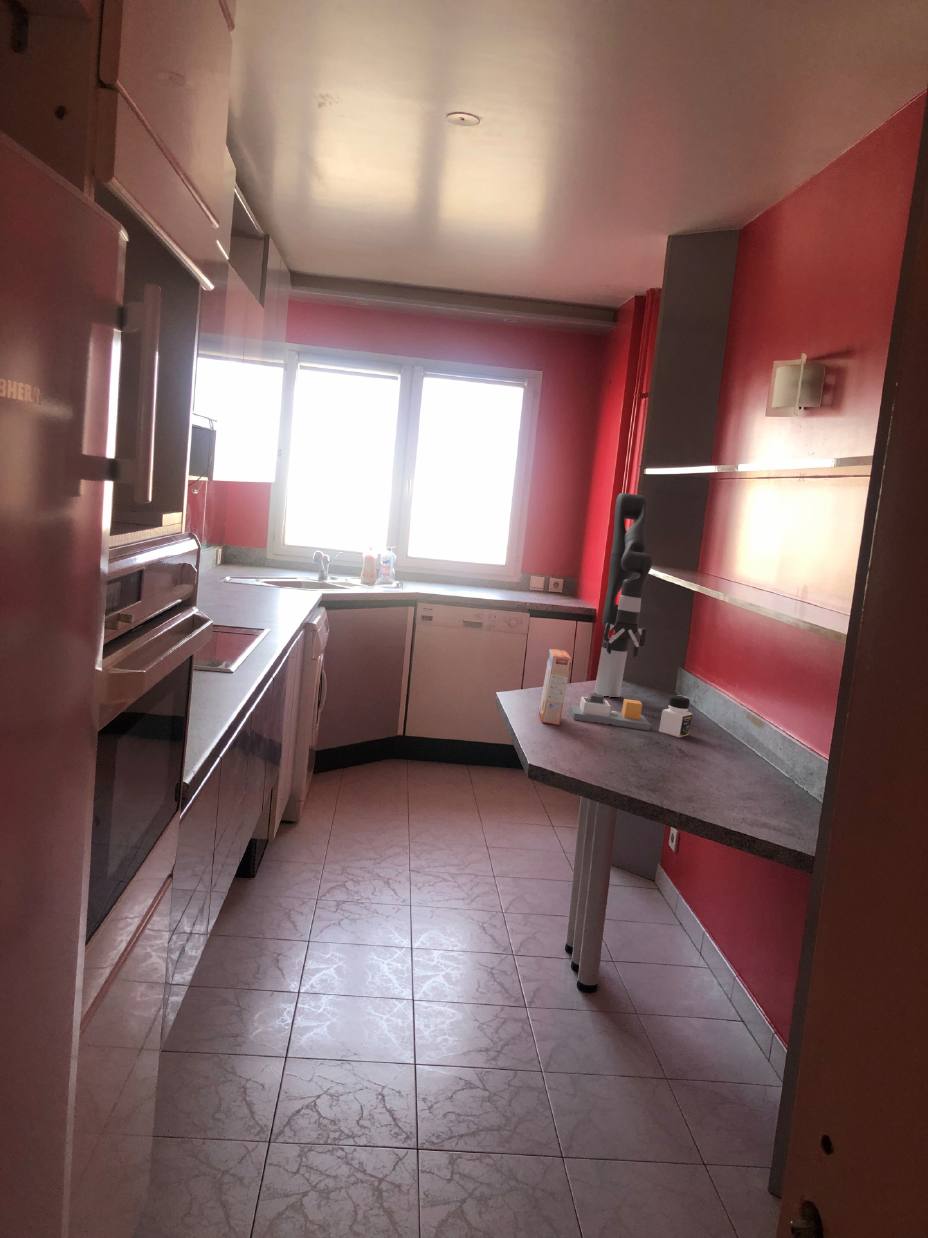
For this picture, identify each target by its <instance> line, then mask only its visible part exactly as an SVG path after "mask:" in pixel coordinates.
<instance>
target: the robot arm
mask: <svg viewBox="0 0 928 1238" xmlns="http://www.w3.org/2000/svg"><path fill="white" fill-rule="evenodd" d="M614 507H615V508H614V522H613V523H614V526H613V527H614V528H613V539H612V545H611V552H610V562H609V568H608V570H609V571H608V583H607V590H606V596H605V601H604V606H603V613H602V621H601V622H602V626H603V628H604V631H603V635H602V644H601V651H600V656H599V661H598V662H599V663H598V667H597V673H596V680H595V685H594V690H593V691H594V692H595V693H598V694H600V695H605V696H609V697H608V698H610V697H619V698H620V695H621V689H622V685H623V684H622V683H623V678H624V673H625V667H626V660H627V656H628V650H629V649H628V648H629V645H630V640H631V641H632V644H633V648H632V653H631V657H632V658H636V657H637V656H638V653H639V648H640V647H644V646H645V645H646V644H645V642H646V635H647V629H645V628H644V627H642V628H638V622H639V618H640V612H641V607H642V606H641V605H642V602H641V601H642V595H643V589H644V585H645V583H646V580H647V577H648V575H649V573H650V571H651V569H652V566H653V563H654V562H653V557H652V555H651V554H649V553H645V552H646V538H645V537H646V536H645V535H646V533H645V532H646V522H647V513H648V512H647V510H648V502H647V498H646V497H645V496H644V495H641V494H632V493H625V492H620V493H618V495H617V497H616V501H615V506H614ZM625 519H626V520H627V519H628V520H632V521H635V522H634V523H633V524H632V525H630V527H629V528H628V529H626V524H625ZM634 573H637V574H638V575H637V576H636V577H634V578H632V576H633V575H634ZM619 593H620V598H619V600H618V604H615V602H616V598H617V596H618V594H619ZM610 631H614V632H613V634H612V635H611V636H610V637H609V634H610ZM637 633H638V634H639V635H640V636H639V637H640V638H639V642H638V639H637V638H636V636H635V635H636V634H637ZM595 693H594V694H595Z"/></svg>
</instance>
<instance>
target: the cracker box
mask: <svg viewBox="0 0 928 1238" xmlns="http://www.w3.org/2000/svg"><path fill="white" fill-rule="evenodd" d="M571 664H572V658H571V656H570V654H569V652H568V651H566V650H562V649H556V648H555V649H554V648H549V651H548V658H547V663H546V668H545V675H544V679H543V680H544V681H543V686H542V693H541V697H540V703H539V709H538V713H539V716H540V721H541V723H544V724H549V725H555V726H560V725H561V721H562V720H561V719H562V714H563V709H564V704H565V697H566V692H567V687H568V680H569V675H570V670H571Z"/></svg>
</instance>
